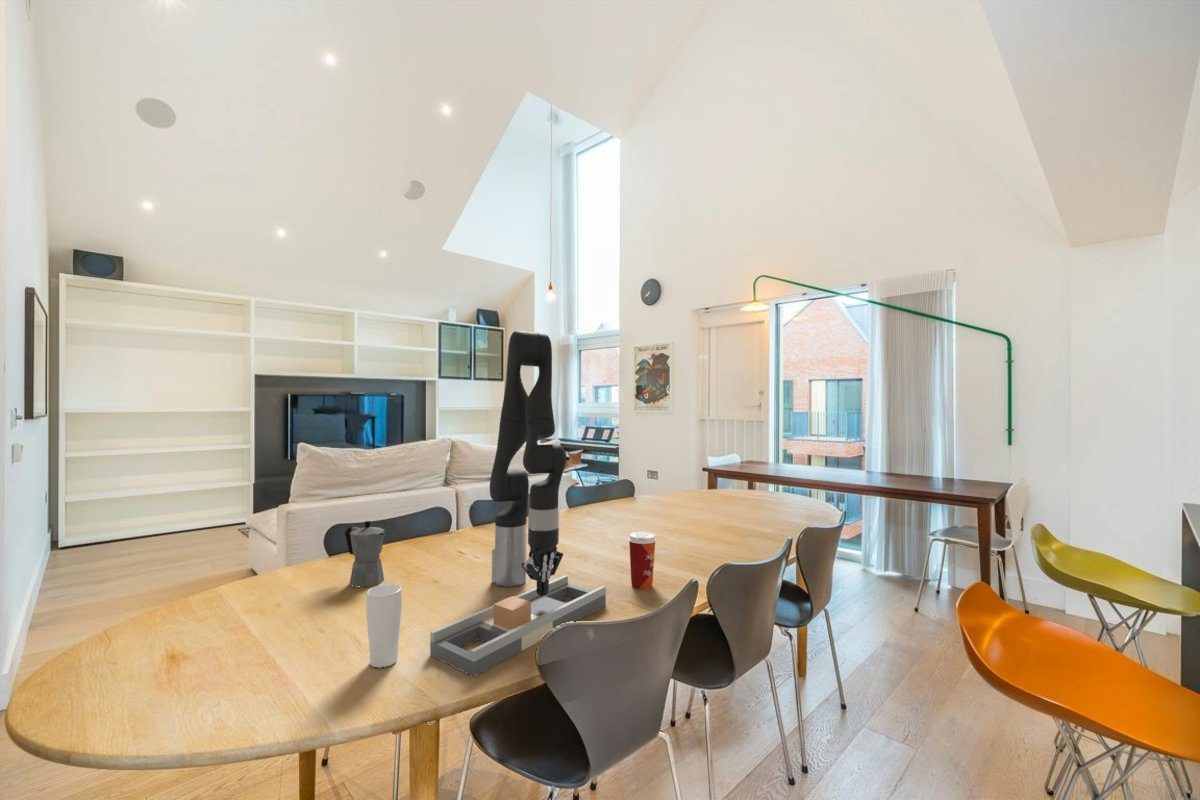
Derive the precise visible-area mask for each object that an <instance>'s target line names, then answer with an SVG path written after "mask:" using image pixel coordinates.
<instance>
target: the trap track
mask: <svg viewBox="0 0 1200 800" xmlns="http://www.w3.org/2000/svg"><path fill="white" fill-rule="evenodd" d="M548 586H549V590H548V594H547V595H545V596H540V595H538V594H537V586H536V587H533V588H532V589H529V590H526V591H524V592H522V593H520V594H517V595H515V596H514V597H517V598H521V599H524V600H527V601H530V602H531V621H529V622H527V623H525V624H523V625H521V626H519V627H517V628H515V629H513V630H509V629H506V628H504V627H501V626H498V625H496V624H493V620H494V604H493V605H491V606H489V607H486V608H484V609H482V610H480V611H477V612H475V613H471V614H470V615H467V616H465V617H463V618H460V619H457V620H455V621H453V622H450V623H449V624H446V625H444V626H441V627H438V628H436V629H433V630H432V631H430V635H429V636H430V647H429V648H430V649H429V650H430V652H429V653H430V654H429V655H430V656H431V655H432V656H431V657H433V656H434V657H433V658H435V657H436V658H435V659H437V658H438V659H437V660H439V659H441V660H443V661H445V662H447V663H449V664H451V665H453V666H454V667H453V666H452V667H453V668H455V667H456V668H455V669H457V668H459V669H461V670H463V671H464V672H463V671H462V672H463V673H465V672H467V673H469V674H470V675H472V676H475V675H477V674H479V673H481V672H482V673H484V672H486V671H488V670H490V669H492V668H493V667H495V666H497V665H499V664H500V662H501V663H503V662H505V661H506V660H508V659H510V658H512V657H514V656H515V655H518V654H519V653H521V652H523V651H525V650H527V649H528V648H530V647H532V646H533V645H536V644H538V643H539V642H540V641H539V640H540V639H541V638H542V636H543V635H544V634H545V633H546V632H547V631H549V630H550V629H552V628H554V627H556V626H558V625H560V624H562V623H566V622H570V621H576V622H578V621H579V620H581V619H580V618H582V619H583V618H585V617H587V616H589V615H590V614H593V613H594V612H596V611H597V610H598V611H599V610H600V609H602V608H603V607H605V606H606V603H607V600H606V598H607V597H606V596H607V594H606V591H607V586H605V585H602V586H599V587H597V588H595V589H589V588H586V587H584V586H583V587H582V586H579V585H577V584H572V583H569V575H563V576H561V577H558V578H556V579H553V580H551V581H550V580H549V585H548ZM564 599H571V600H570V601H568V602H564V601H563V600H564ZM577 620H578V621H577ZM477 639H481V640H483V641H482V642H484V641H485V642H484V643H482V644H480V645H478V646H476V647H475V648H472V649H470V651H468V650H466V649H464V648H463V647H462V646H464V647H466V646H467V645H466V644H468V645H470V644H472V643H474V642H476V641H475V640H477ZM481 640H480V641H481ZM473 641H474V642H473ZM477 641H478V640H477ZM538 641H539V642H538ZM471 642H472V643H471ZM469 643H470V644H469ZM465 645H466V646H465ZM460 647H462V648H460ZM441 660H440V661H441ZM443 661H442V662H443ZM502 661H503V662H502ZM445 662H444V663H445ZM447 663H446V664H447ZM449 664H448V665H449ZM451 665H450V666H451ZM489 668H490V669H489ZM459 669H458V670H459ZM461 670H460V671H461ZM485 670H486V671H485ZM483 671H484V672H483ZM467 673H466V674H467ZM482 673H481V674H482ZM470 675H469V676H470ZM479 675H480V674H479ZM472 676H471V677H472ZM477 676H478V675H477ZM475 677H476V676H475Z"/></svg>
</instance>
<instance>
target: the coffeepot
mask: <svg viewBox="0 0 1200 800" xmlns="http://www.w3.org/2000/svg"><path fill="white" fill-rule="evenodd" d="M344 536H345V537H344V538H345V541H346V544H347V548H348V553H349V554H350V555H353V556H354V561H353V564H352V569H351V574H350V580H349V584H350V586H351V585H353V586H360V587H363V588H368V587H367V586H371V587H373V586H372V585H375V586H377V585H376V584H378V585H380V584H382V583H383V581H384V580H385V575H384V570H383V565H382V559H381V555H380V554H381V553H382V551H383V550H382V549H383V543H384V537H386V533H385V529H383V528H382V527H377V526H375V527H374V526H373V527H372V526H371V521H370V520H367V521H364V527H361V528H360V527H357V526H356V527H355V526H348V527H347V529H346V530H345V532H344ZM379 583H380V584H379ZM353 586H352V587H353Z"/></svg>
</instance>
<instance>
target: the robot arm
mask: <svg viewBox="0 0 1200 800" xmlns="http://www.w3.org/2000/svg"><path fill="white" fill-rule="evenodd" d="M507 347H508V348H507V359H506V360H507V362H506V373H505V374H506V377H505V378H506V379H505V388H504V393H503V400H502V406H501V412H500V417H499V428H498V430H499V431H498V437H497V438H498V439H497V443H496V444H497V446H496V452H495V456H494V457H495V458H494V459H493V460H494V462H493V466H492V468H491V469H492V470H491V475H490V478H489V495H490V498H491V500H492V501H494V502H496V503H505V502H511V504H510V505H509V506H507V507H506V508H505V509H503V510H501V511H499V512H498V513H496V515H495V517H494V548H493V549H492V550H491V583H494V584H495V585H497V586H500V587H506V588H507V587H509V588H510V587H518V586H522V585H523V584H525V583H526V581H527V576H528V578H530V580H534V581H535V582H536V587H537V594H538V595H540V596H545V595H547V594H548V590H549V586H548V585H549V582H550V579H551V577H552V576H555V574H556V572H557V570H558V567H559V565H560V563H561V562H562V559H563V556H564V553H563V552H561V551H558V547H557V546H558V544H559V541H560V540H559V539H560V538H559V537H560V535H559V534H560V533H559V532H560V529H559V528H560V514H559V513H560V512H559V491H560V485H561V481H562V477H563V474H564V471H565V467H566V464H567V453H566V450H565V448H564V447H563V446H562V445H560V444H558V443H557V444H556V443H555V444H554V443H553V444H538V441H540V440H544V439H548V438H550V437H552V436H553V435H554V434H555V432H556V426H555V417H554V410H553V400H552V399H553V398H552V394H553V393H552V389H553V388H552V386H553V385H552V384H553V381H552V380H553V347H552V341H551V339H550V337H549V335H548V334H546V333H543V332H535V331H525V330H515V331H513V332H512V333H511V335H510V337H509V342H508V346H507ZM522 366H525V367H538V377H537V379H536V382H535V384H534V386H533V388H532V390H530V391H531V392H530V393H529V395H528V393H527V391H526V389H525V387H524V384H523V382H522V381H523V380H522V377H521V375H522V374H521V368H522ZM524 445H525V446H524ZM523 446H524V447H525V448H524V451H523V456H522V457H523V458H522V464H523V467H524V469H525V470H524V469H521V468H517V469H509V467H510V466H511V462H512V460H513V458H514V457H515V456H516V454H517V453H518V452H519V450H520V449H521V448H523ZM527 472H528V473H529V474H531V475H537V474H548V476H547V477H546V478H545V479H544V480H542V481H541V480H540V481H538V482H535V483H532V484H531V485H530V481H529V475H528V473H527ZM529 486H530V487H529ZM528 504H529V505H528ZM528 506H529V508H528ZM528 509H529V510H528ZM527 518H528V520H527ZM527 521H528V522H527ZM527 523H528V525H527ZM527 533H528V534H527ZM527 543H528V546H529V549H530V550H529V553H528V558H527Z"/></svg>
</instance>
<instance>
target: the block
mask: <svg viewBox="0 0 1200 800" xmlns="http://www.w3.org/2000/svg"><path fill="white" fill-rule="evenodd" d="M493 605H494V620H493V624H496V625H498V626H501V627H504V628H506V629H509V630H513V629H515V628H517V627H519V626H521V625H523V624H525V623H527V622H529V621H531V602H530V601H527V600H524V599H521V598H517V597H515V596H514V595H512V596H509V597H507V598H504V599H502V600H499V601H498V602H496V603H493Z"/></svg>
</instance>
